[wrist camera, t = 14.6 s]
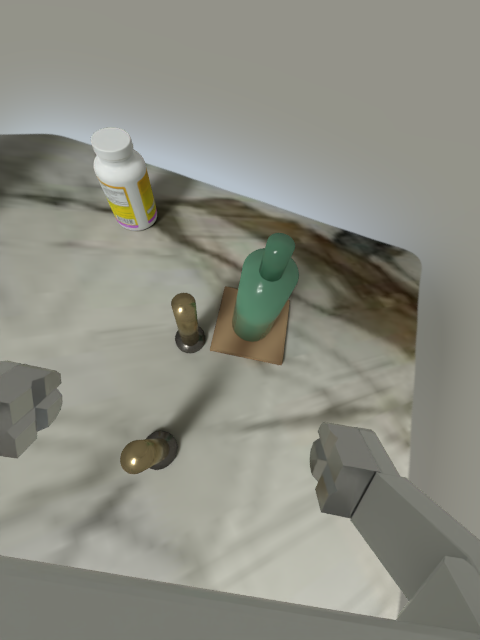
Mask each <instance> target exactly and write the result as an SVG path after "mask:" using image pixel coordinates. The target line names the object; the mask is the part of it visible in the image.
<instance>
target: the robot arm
mask: <svg viewBox="0 0 480 640" xmlns="http://www.w3.org/2000/svg"><path fill="white" fill-rule="evenodd" d="M60 384H61V374H60V373H59V372H57V371H55V370H50V369H45V368H41V367H36V366H31V365H27V364H21V363H16V362H11V361H0V456H4V457H11V458H19V456H20V455H21V454H22V453H23V452H24V451H25V450H26V449H27V448H28V447H29V446H30V445H31V444H32V443H33V442H34V441H35V440H36V439H37V432H38V431H40V430H42V429H45V428H47V427H49V426H50V425H51V424H52V422H53V421H54V420H55V419H56V417H57V416H58V414H59V412H60V410H61V406H62V394H61V393H60V392H59V390H58V389H57V387H58V386H59V385H60ZM318 433H319V437H320V438H319V439H317V440H316V441H314V442H313V445H312V448H311V452H310V468H311V473H312V475H313V477H314V478H315V479H316V480H317V481H318V484H317V486H316V489H315V490H316V494H317V498H318V502H319V506H320V510H321V512H322V513H327V514H332V515H337V516H341V517H346V518H351V521H352V523H353V524H354V526H355V527H356V528H357V530H358V531H359V533H360V534H361V535H362V537H363V538H364V539H365V541H366V542H367V544H368V545H369V546H370V548H371V549H372V551H373V552H374V553H375V555H376V556H377V557H378V559H379V560H380V562H381V563H382V564H383V566H384V567H385V569H386V570H387V571H388V573H389V574H390V575H391V577H392V578H393V580H394V581H395V582H396V584H397V585H398V586H399V588H400V589H401V591H402V592H403V593H404V595H405V596H406V598H407V599H408V600H409V602H408V603H407V605H406V606H405V607H404V608H403V610H402V611H401V612H400V613H399V615H398V617H397V619H396V620H392V619H386V618H379V617H373V616H367V615H361V614H355V613H349V612H343V611H337V610H330V609H324V608H318V607H312V606H306V605H300V604H294V603H288V602H282V601H276V600H270V599H264V598H257V597H251V596H245V595H239V594H233V593H227V592H221V591H215V590H209V589H203V588H197V587H191V586H185V585H179V584H172V583H166V582H160V581H154V580H148V579H142V578H136V577H130V576H124V575H117V574H111V573H105V572H99V571H93V570H87V569H81V568H74V567H68V566H62V565H56V564H50V563H44V562H38V561H31V560H25V559H19V558H13V557H7V556H1V555H0V640H480V540H479V539H478V538H477V537H476V536H475V535H473V534H472V533H471V532H470V531H469V530H467V529H466V528H465V527H464V526H462V524H460V523H459V522H458V521H457V520H456V519H454V518H453V517H452V516H451V515H450V514H448V513H447V512H446V511H445V510H444V509H442V508H441V507H440V506H439V505H438V504H436V503H435V502H434V501H433V500H432V499H431V498H430V497H428V496H427V495H426V494H425V493H423V492H422V491H421V490H420V489H419V488H418V487H416V486H415V485H414V484H413V483H412V482H411V481H409V480H408V479H407V478H405V477H401V476H400V475H399V473H398V471H397V470H396V468H395V466H394V464H393V463H392V461H391V459H390V458H389V456H388V454H387V452H386V451H385V449H384V447H383V446H382V444H381V442H380V440H379V439H378V437H377V435H376V434H375V432H373V431H372V430H370V429H364V428H358V427H350V426H344V425H339V424H334V423H328V422H323V423H322V424H321V425H320V427H319V430H318Z"/></svg>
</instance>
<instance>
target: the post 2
mask: <svg viewBox="0 0 480 640" xmlns="http://www.w3.org/2000/svg"><path fill="white" fill-rule="evenodd" d="M171 305H172V309H173V313H174V316H175V319H176V323H177V326H178V331H177V333H176V336H175V341H176V344H177V346H178V348H179V349H180V350H181V351H183V352H185V353H194V352H197V351H199V350H200V349H201V348H202V347H203V345H204V343H205V334H204V332H203V330H202V329H201V328H200V327H199V326H198V322H197V312H196V302H195V299H194V297H193V296H192V295H190V294H188V293H180V294H177V295H176V296H175V297H174V298H173V299H172V302H171Z"/></svg>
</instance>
